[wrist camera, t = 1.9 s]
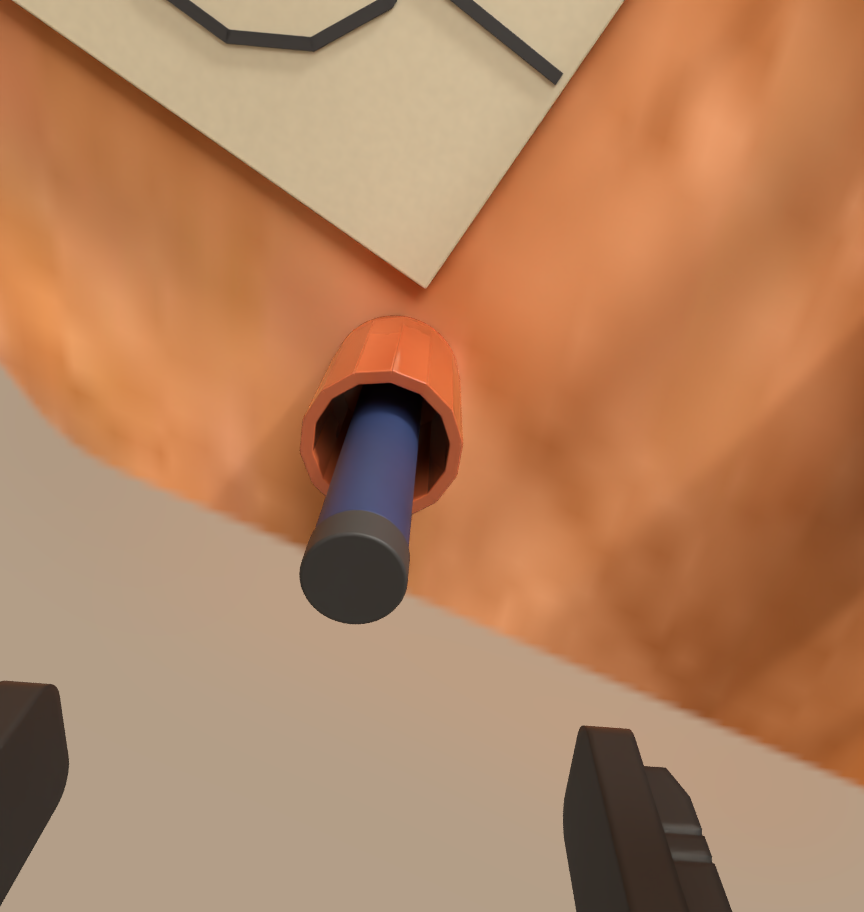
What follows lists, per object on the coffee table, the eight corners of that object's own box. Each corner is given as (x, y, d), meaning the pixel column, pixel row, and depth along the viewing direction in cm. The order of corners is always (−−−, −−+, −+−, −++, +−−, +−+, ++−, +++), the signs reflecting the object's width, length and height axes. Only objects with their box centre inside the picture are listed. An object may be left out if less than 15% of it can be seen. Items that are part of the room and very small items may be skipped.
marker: (437, 374, 28) (428, 569, 16) (403, 421, 29) (369, 643, 17) (386, 340, 28) (335, 513, 15) (352, 389, 29) (279, 592, 16)
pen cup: (484, 361, 29) (494, 428, 22) (411, 457, 30) (401, 546, 24) (378, 288, 28) (357, 337, 21) (309, 392, 29) (270, 467, 23)
